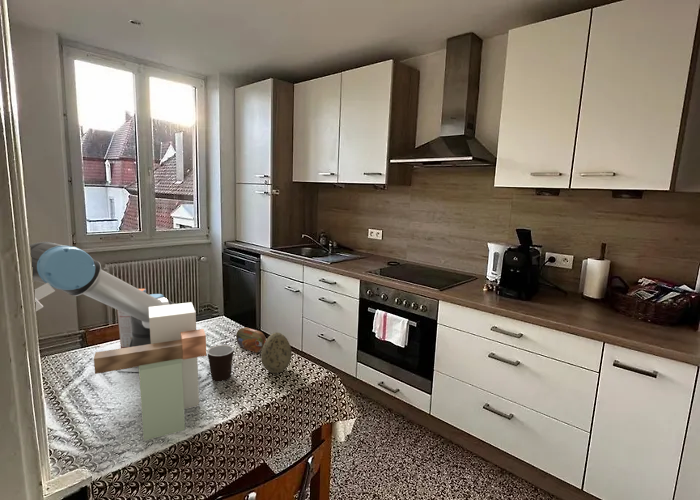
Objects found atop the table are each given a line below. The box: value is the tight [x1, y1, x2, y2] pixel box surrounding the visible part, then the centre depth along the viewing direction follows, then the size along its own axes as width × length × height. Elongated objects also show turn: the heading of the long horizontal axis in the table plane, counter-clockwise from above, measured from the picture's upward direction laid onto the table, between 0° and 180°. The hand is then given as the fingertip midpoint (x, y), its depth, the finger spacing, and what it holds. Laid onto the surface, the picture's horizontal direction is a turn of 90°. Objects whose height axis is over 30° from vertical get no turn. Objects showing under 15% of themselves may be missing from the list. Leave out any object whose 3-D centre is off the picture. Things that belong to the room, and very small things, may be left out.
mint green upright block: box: [138, 359, 186, 442], centre depth 104 cm, size 10×9×21 cm
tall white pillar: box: [149, 301, 200, 410], centre depth 115 cm, size 12×10×30 cm
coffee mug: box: [206, 344, 235, 383], centre depth 134 cm, size 12×9×10 cm
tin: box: [235, 327, 267, 354], centre depth 155 cm, size 15×3×8 cm, turn 58°
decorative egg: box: [260, 332, 293, 374], centre depth 137 cm, size 11×11×15 cm
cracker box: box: [116, 288, 147, 349], centre depth 157 cm, size 14×6×21 cm, turn 5°
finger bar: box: [93, 328, 207, 375], centre depth 101 cm, size 26×5×6 cm, turn 118°
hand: (45, 294), depth 92 cm, fingers open, 13 cm apart
